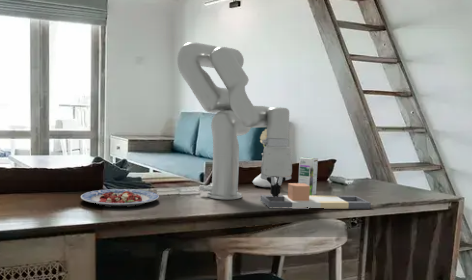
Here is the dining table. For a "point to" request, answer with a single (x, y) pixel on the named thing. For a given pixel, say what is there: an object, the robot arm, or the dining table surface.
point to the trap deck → (318, 202)
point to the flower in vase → (258, 180)
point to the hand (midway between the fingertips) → (275, 195)
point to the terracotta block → (298, 191)
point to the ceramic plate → (119, 197)
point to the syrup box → (308, 172)
